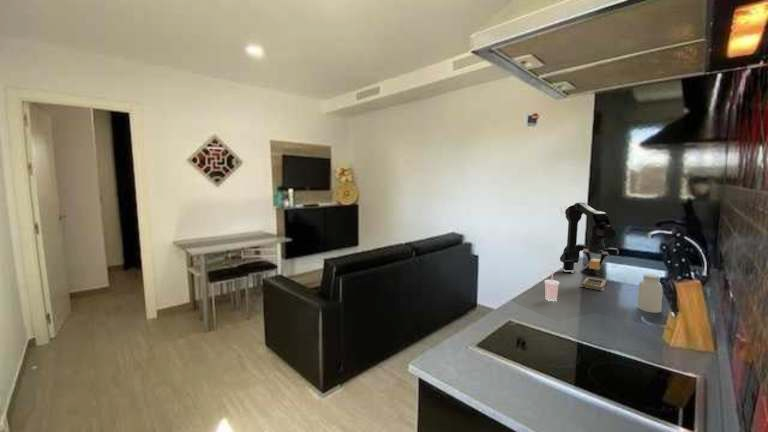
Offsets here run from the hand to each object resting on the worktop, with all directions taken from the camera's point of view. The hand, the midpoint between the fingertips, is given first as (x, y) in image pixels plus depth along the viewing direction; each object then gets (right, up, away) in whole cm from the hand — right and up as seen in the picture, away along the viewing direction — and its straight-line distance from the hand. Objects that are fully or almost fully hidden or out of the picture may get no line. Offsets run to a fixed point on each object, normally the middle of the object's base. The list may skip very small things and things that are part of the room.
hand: (595, 265), depth 172 cm
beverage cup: (-33, -13, -20) cm, 41 cm away
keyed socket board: (0, -11, +1) cm, 11 cm away
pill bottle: (+3, -14, -32) cm, 35 cm away
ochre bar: (0, -1, 0) cm, 1 cm away
